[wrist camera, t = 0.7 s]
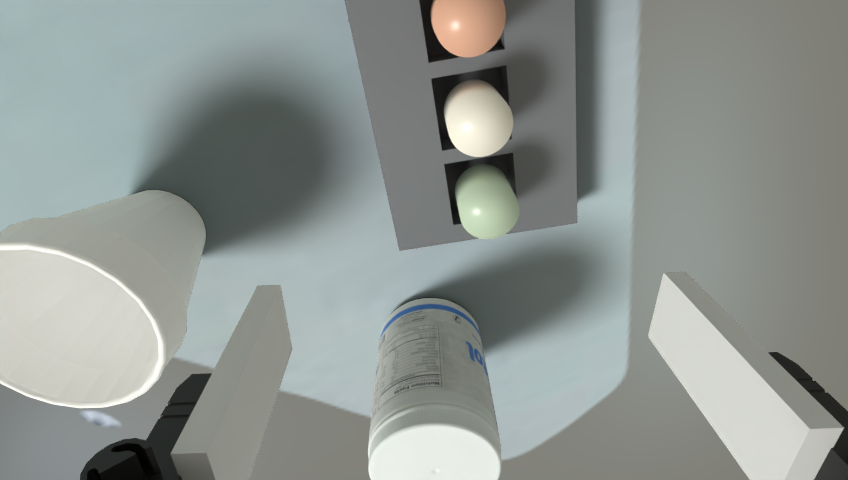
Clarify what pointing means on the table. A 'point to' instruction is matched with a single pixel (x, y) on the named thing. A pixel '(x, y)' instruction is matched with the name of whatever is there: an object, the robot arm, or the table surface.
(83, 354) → the cup
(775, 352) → the robot arm
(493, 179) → the button sage
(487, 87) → the button cream
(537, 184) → the button panel
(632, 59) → the table surface
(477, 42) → the button terracotta
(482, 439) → the supplement tub
